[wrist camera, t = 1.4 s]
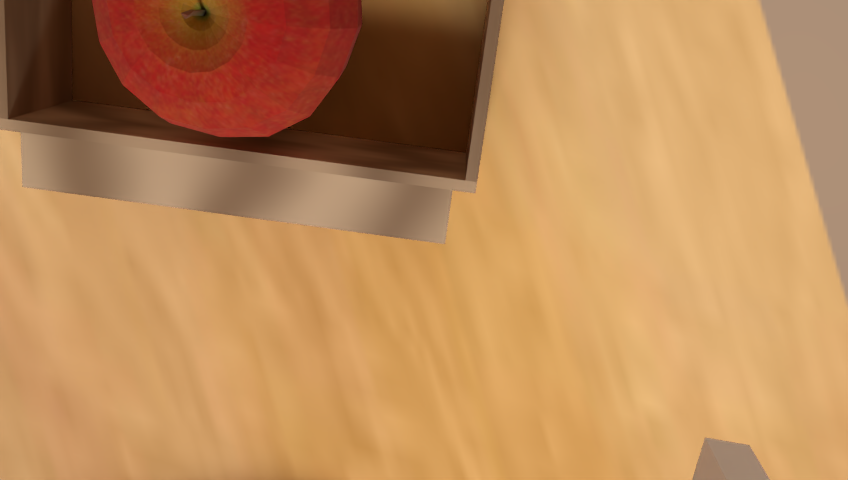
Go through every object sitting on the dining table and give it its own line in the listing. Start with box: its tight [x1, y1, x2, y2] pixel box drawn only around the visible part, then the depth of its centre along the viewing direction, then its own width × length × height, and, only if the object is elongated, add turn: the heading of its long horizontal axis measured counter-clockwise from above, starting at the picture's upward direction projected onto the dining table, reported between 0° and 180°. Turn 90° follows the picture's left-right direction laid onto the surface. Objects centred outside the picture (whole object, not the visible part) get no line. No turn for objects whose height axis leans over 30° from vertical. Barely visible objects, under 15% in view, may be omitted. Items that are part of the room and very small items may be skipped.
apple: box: [92, 0, 362, 137], centre depth 32 cm, size 10×10×14 cm
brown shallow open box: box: [0, 0, 504, 244], centre depth 36 cm, size 21×18×6 cm
